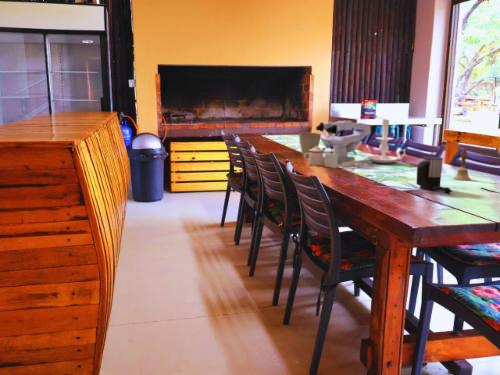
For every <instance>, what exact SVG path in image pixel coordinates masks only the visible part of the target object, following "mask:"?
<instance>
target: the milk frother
mask: <svg viewBox="0 0 500 375" xmlns="http://www.w3.org/2000/svg"><path fill="white" fill-rule="evenodd" d="M443 161H444V158H443V157H441V156H429V155H427V156H422V161H420V162H419V163H418V164H417V166H416V185H417V186H419V189H421V190H425V191H441V192H444V194H450V193H452V192H453V190H452V189H450V187H443V186H441V181H442V180H441V179H442V169H443Z"/></svg>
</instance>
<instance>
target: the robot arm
mask: <svg viewBox="0 0 500 375" xmlns="http://www.w3.org/2000/svg"><path fill="white" fill-rule="evenodd" d="M315 130H316V131H319V132H324V131H325V132H326V133H329V134H333V136H332V137H331V138H330V144H331V145H332V147H333V150H332V154H338V156H339V157H341V156H348V148H347V146H348V145H350V143H355V142H360V141H362V140H363V139H364V138H365V137H367V136H369V135H370V132H371V125H370V124H368V123H362V122H353V121H351V120H350V119H348V120H337V121H335V122H333V121H328V123H324V122H320V123H319V124H318V125H317V126H316V129H315ZM348 130H349V131H351V130H353V133H352V134H349V135H344V136H343V135H342V136H336V134H337V132H341V131H348Z"/></svg>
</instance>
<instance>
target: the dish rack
mask: <svg viewBox="0 0 500 375" xmlns="http://www.w3.org/2000/svg"><path fill="white" fill-rule="evenodd" d="M355 158H356V156H355V157H354V156H349V155H347V156H341V157H339V156H338V165H337V168H338V167H339V168H346V167H351V165H352V166H356V165H355V164H357V162H358V161H357V160H356V159H355Z"/></svg>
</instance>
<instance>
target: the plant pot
mask: <svg viewBox="0 0 500 375" xmlns="http://www.w3.org/2000/svg"><path fill="white" fill-rule="evenodd" d="M321 136H322V134H321V133H317V132H302V133H301V132H300V133H298V138H299V139H298V140H299V145H300V150H301V153H302V156H303V157H304V154H305V153H309V150H310V149H312V148H315V146H318V147H319V145H320V142H321ZM305 158H306V159H307V158H308V159H309V154H306V155H305Z"/></svg>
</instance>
